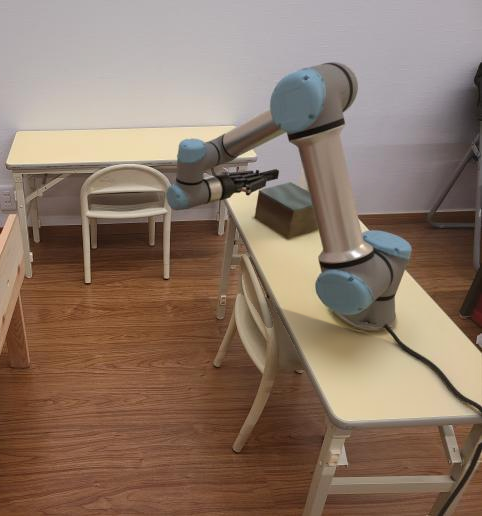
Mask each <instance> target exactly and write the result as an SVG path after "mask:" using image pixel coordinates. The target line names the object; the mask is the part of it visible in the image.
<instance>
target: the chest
mask: <svg viewBox="0 0 482 516" xmlns="http://www.w3.org/2000/svg"><path fill="white" fill-rule="evenodd" d="M253 218H254V219H256V220H257V221H259V222H260V223H262V224H263V225H264V226H267V228H270V229H271V230H273V231H274V232H276V233H277V234H279V235H281V236H282V237H284V238H285V239H286V240H291V239H293V238H296V237H300V236H302V235H307V234H309V233H313V232H316V231H319V230H318V226H317V222H316V218H315V214H314V210H313V207H310V208H307V209H304V210H300V211H297V212H292V211H290V210H288V209H287V208H285V207H283V206H282V205H280V204H278V203H276V202H275V201H273V200H271V199H270V198H268V197H266V196H264V195H263V194H261V193H259V192H258V193H257V199H256V206H255V211H254V217H253Z"/></svg>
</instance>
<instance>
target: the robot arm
mask: <svg viewBox="0 0 482 516" xmlns="http://www.w3.org/2000/svg"><path fill="white" fill-rule="evenodd" d="M358 90H359V83H358V79H357V76H356V74H355V73H354V72H353V69H351V68H350V67H349V66H347V64H343V63H341V62H335V61H334V62H333V61H330V62H325V63H321V64H318V65H317V64H316V65H312V66H309V67H303V68H301V69H297V70H295V71H293V72H291V73H288V74H287V75H285V76H284V77H282V78H281V79H280V80H279V81H278V82H277V83H276V85H275V87H274V89H273V91H272V93H271V96H270V101H269V107H268V108H267V109H265V110H263V111H261V112H259V113H258V114H256V115H254V116H252V117H251V118H249V119H247V120H246V121H244V122H242V123H241V124H238V125H237V126H235V127H234V128H231V129H230V130H228V131H227V132H225V133H223V134H220V135H219V136H217V137H216V138H213V139H211V140H209V141H204V140H202V139H199V138H192V137H191V138H184V139H182V140H181V141H180V142H179V144H178V149H177V155H176V159H177V160H176V177H175V183H173V184H171V185H169V186H168V187H167V189H166V191H165V198H166V202H167V204H168V206H169V207H170V209H172V210H173V211H183V210H189V209H191V208H192V209H193V208H195V207H199V206H202V205H207V204H209V203H216V202H219V201H223V200H227V199H229V198H231V197H232V196H233V195H234V194H240V193H242V192H243V193H245V196H251V194H253V193H254V192H257V191H259V190H261V189H264V188H265V187H266V186H267V182H271V181H274V180H279V174H280V170H279V169H277V168H273V169H270V170H267V171H261V172H260V170H259V169H255V172H254V170H243V171H242V170H241V171H231V172H230V171H229V172H227V171H224V172H222V173H218V174H215V175H210V176H206V177H204V174H205V173H204V172H206V171H209V170H211V169H213V168H216V167H219V166H222V165H224V164H228V163H230V162H232V161H234V160H235V159H237V158H238V157H240V156H241V155H244V154H246V153H247V152H249V151H252V150H254V149H256V148H258V147H261V146H262V145H264V144H265V143H268V142H270V141H272V140H274V139H276V138H277V137H280V136H282V135H283V134H286V136H287V139H288V142H289V143H291V144H292V145H294V146H296V147H297V149H298V152H299V157H300V162H301V165H302V167H303V170H304V174H305V178H306V182H307V186H308V190H309V194H310V198H311V202H312V206H313V210H314V214H315V218H316V222H317V226H318V230H317V231H318V234H319V238H320V242H321V247H322V251H321V252H320V254H319V255H318V256H317V260H318V264H319V267H320V272H321V273H319V274H318V276H317V278H316V280H315V284H314V285H315V286H314V288H315V293H316V296H317V297H318V299H319V300H320V302H321V303H322V304H323V305H324V306H325V307H326V308H329V309H330V311H331V312H332V314H333V316H334V317H335V318H336V319H337V320H338V321H339V322H341V323H342V324H343V325H345V326H347V327H349V328H351V329H353V330H355V331H356V330H357V331H360V332H363V333H370V334H371V333H372V334H377V333H384V332H386V331H387V333H389V335H390V336H391V337H392V339H393V340H394V341H395V342H396V343H397V345H399V346H400V347H401V348H402V349H403V350H404V351H406V352H408V353H409V354H410V355H412V356H414V357H415V358H417V359H419V360H421V361H422V362H424V364H427V365H428V366H429V367H430V368H432V369H433V370H434V371H435V372H436V374H438V375H439V376H440V378H441V379H442V380H443V383H444V384H445V385H446V386H447V387H448V389H450V391H451V392H452V393H453V394H454V395H455V396H456V397H457V398H459V400H461V401H463V402H464V403H466V404H468V405H470V406H472V407H473V408H475V409H477V410H478V411H479V412H480V413H481V414H482V405H480V404H479V403H478V402H475V401H474V400H473V399H470V398H468V397H466V396H465V395H463V394H462V393H461V392H460V391H459V390H458V389H457V388H456V387H455V386H454V384H453V383H452V382H451V381H450V379H449V378H448V377H447V375H445V373H444V372H443V371H442V370H441V369H440V368H439V367H438V366H437V365H436V364H435V363H434V362H432V361H431V360H430V359H429V358H426V356H424V355H421V354H420V353H419V352H417V351H415V350H414V349H412V348H410V347H409V346H407V345H406V344H405V343H404V342H403V341H402V340H401V339H400V338H399V337H398V336H397V334H396V333H395V332H394V331H393V329H392V327H393V325H394V323H395V320H396V315H397V313H396V295H397V292H398V290H399V287H400V284H401V282H402V279H403V277H404V274H405V272H406V269H407V266H408V263H409V261H410V260H411V255H412V252H413V248H412V245H411V244H410V243H409V241H407V240H406V239H405V238H403V237H401V236H399V235H396V234H393V233H390V232H387V231H384V230H377V229H376V230H375V229H374V230H373V229H371V230H369V229H368V230H366V231H365V230H364V231H362V227H361V223H360V219H359V214H358V210H357V207H356V201H355V197H354V192H353V187H352V183H351V179H350V175H349V170H348V167H347V162H346V157H345V153H344V149H343V143H342V140H341V133H342V131H343V130H344V128H345V126H346V122H345V121H346V120H345V117H344V113H345V112H346V111H348V109H349V108H351V106H352V105H353V104H354V102H355V100H356V98H357V95H358ZM481 454H482V441H481V442H479V443H478V444H477V447H476V449H475V452H474V455H473V457H472V459H471V461H470V464H469V466H468V468H467V469H466V471H465V473H464V474H463V476H462V478H461V480H460V481H459V482H458V484H457V486H456V487H455V489H454V490H453V491H452V493H451V494H450V496H449V497H448V499H447V500H446V501H445V503H444V505H442V508H441V509H440V511H439V512H438V514H437V516H444V515H445V514H446V512H448V511H447V510H448V509H449V508H450V506H451V505H452V503H453V502H454V501H455V499H456V498H457V497H458V495H459V494H460V492H461V491H462V489H463V488H464V487H465V485H466V483H467V482H468V480H469V479H470V477H471V476H472V473H473V471H474V470H475V468H476V467H477V464H478V461H479V459H480V457H481Z"/></svg>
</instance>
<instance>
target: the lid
mask: <svg viewBox="0 0 482 516" xmlns="http://www.w3.org/2000/svg"><path fill="white" fill-rule="evenodd" d="M299 186H300V185H298V184H296V183H293V182H286V183H282V184H278V185H273V186H269V187H266V188H265V187H264V188H261V189H259V190H258V193H261V194H263V195H264V196H266V197H268V198H270V199H271V200H273V201H275V202H276V203H278V204H280V205H282V206H283V207H285V208H287V209H288V210H290V211H292V212H297V211H300V210H304V209H307V208H310V207H313V206H312V202H311V198H310V194H309V191H307V190H305V189H303V188H301V187H299Z"/></svg>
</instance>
